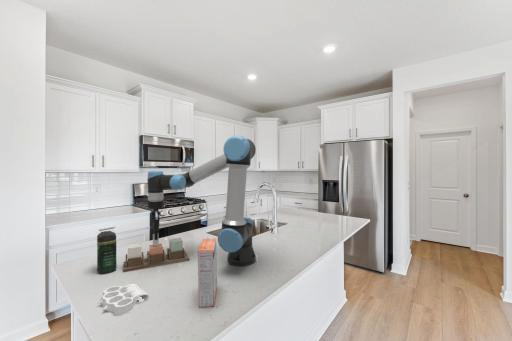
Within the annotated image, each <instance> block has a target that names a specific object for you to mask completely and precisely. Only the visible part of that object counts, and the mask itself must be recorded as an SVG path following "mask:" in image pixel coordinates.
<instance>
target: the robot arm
mask: <svg viewBox="0 0 512 341" xmlns="http://www.w3.org/2000/svg"><path fill="white" fill-rule="evenodd" d="M256 150H257V149H256V145H255V143H254V142H253V141H252V140H251V139H249V138H247V137H245V136H241V135H233V136H231V137H229V138H228V139H227V140H226V141H225V142H224V144H223V154H221V155H219V156H217V157H215V158H213V159H210V160H209V161H207V162H205V163H203V164H201V165H199V166H197V167H195V168H193V169H191V170H189V171H187V172H185V173H181V174H164V170H163V171H162V170H150V171H148V172H147V180H146V181H147V194H145V196H146V197H147V209H149V210H152V211H150V214H151V220H152V229H151V230H152V232H151V235H152V245H153V246H159V244H160V238H159V234H160V232H161V231H160V220H161V218H160V217H161V211H160V210H159V209H163V208H164V190H172V191H181V190H184V189H185V188H190V187H193V186H195V184H197V183H198V182H201V181H203V180H205V179H207V178H209V177H211V176H213V175H215V174H218V173H220V172H221V171H223V170H226V169H228V175H227V177H228V178H227V190H226V203H225V204H226V205H225V218H224V219H222V221H221V229H220V231H219V233H218V235H217V244H218V246H219V247H220V249H222V250H223V251H224V252H227V253H228V254H227V256H226V257H227V263H228V264H229V265H232V266H236V267H237V266H238V267H245V266H249V265H252V264H254V263H256V258H257V257H256V254H255V253H256V252H255V251H254V248H253V225H254V224H253V219H252V218H251V217H246V216H245V214H244V213H245V203H246V202H245V201H246V188H247V187H246V185H247V173H248V172H247V171H248V169H249V168H250V166H251V161H252V159H253V158H254V157H255V154H256Z"/></svg>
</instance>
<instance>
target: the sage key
mask: <svg viewBox="0 0 512 341" xmlns="http://www.w3.org/2000/svg"><path fill="white" fill-rule="evenodd" d="M183 241H184V240H183V239H182V238H181V237H178V238H169V240H168V243H169V246H168V248H169V250H170V252H175V251H181V250H183V248H184V247H183V246H184V245H183V244H184V243H183Z"/></svg>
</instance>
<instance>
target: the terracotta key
mask: <svg viewBox="0 0 512 341" xmlns="http://www.w3.org/2000/svg"><path fill="white" fill-rule="evenodd" d="M163 249H164V247H163V244H162V243H159V246H153V244H149V250H148V251H149V255H156V254H162V253H163Z"/></svg>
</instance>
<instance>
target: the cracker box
mask: <svg viewBox="0 0 512 341" xmlns="http://www.w3.org/2000/svg"><path fill="white" fill-rule="evenodd" d="M217 254H218V253H217V238H203V239H202V240H201V243H200V246H199V247H198V249H197V269H198V270H197V271H198V272H197V275H198V276H197V277H198V281H197V282H198V308H210V307H211V308H213V307H215V305H216V304H215V303H216V296H217V290H218V269H217V268H218V267H217V265H218V264H217V263H218V262H217V261H218V260H217Z"/></svg>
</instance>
